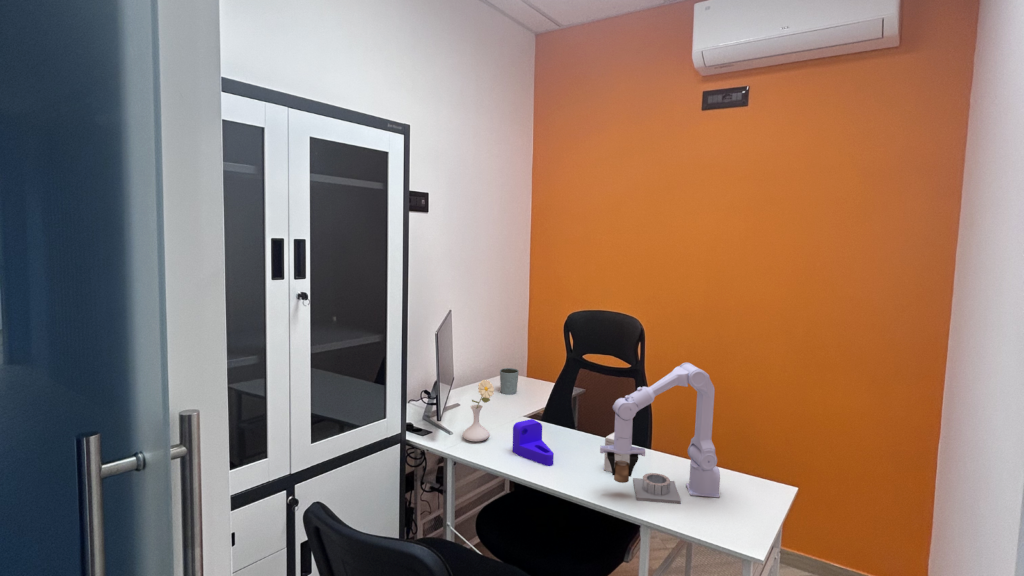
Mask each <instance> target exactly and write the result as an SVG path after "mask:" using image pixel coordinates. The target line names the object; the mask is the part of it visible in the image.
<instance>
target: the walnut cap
mask: <svg viewBox="0 0 1024 576" xmlns="http://www.w3.org/2000/svg"><path fill="white" fill-rule="evenodd" d="M614 471H615V475H613V481H615V482H617V483H622V484H624V483H625V484H626V483H628V482H629V480H630V479H629V478H630V477H629V463H628V462H626V461H616V462H615V467H614Z"/></svg>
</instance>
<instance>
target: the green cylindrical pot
mask: <svg viewBox="0 0 1024 576" xmlns="http://www.w3.org/2000/svg"><path fill="white" fill-rule="evenodd" d="M519 372H520V371H519V370H518V369H516V368H513V367H505V368H504V367H503V368H501V369H499V383H500V385H499V386H500V393H501V394H502V395H506V396H507V395H508V396H510V395H511V396H512V395H515V394H517V392H518V391H517V390H518V382H519V374H520V373H519Z"/></svg>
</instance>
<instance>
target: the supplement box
mask: <svg viewBox="0 0 1024 576" xmlns="http://www.w3.org/2000/svg"><path fill="white" fill-rule="evenodd" d="M606 445H614V432H612V433H610V434H609V435H607V436H606V437H605V440H604V446H606ZM614 454H615V462H616V461H626V462H628V463H629V461H630V454H616V453H614ZM603 460H604V466H603V470H604V471H607V472H609V473H612V469H611V465H610V462H609V460H608V458H607V453H604V459H603ZM614 467H615V463H614Z"/></svg>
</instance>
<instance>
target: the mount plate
mask: <svg viewBox="0 0 1024 576" xmlns="http://www.w3.org/2000/svg"><path fill="white" fill-rule="evenodd" d="M632 483H633V489H634V492H635V493H634V494H635V497H636V501H642V502H656V503H664V504H665V503H666V504H676V505H677V504H679V505H681V504H682V499H681V498H680V495H679V491H678V488H677V485H676V482H675V480H670V492H669V493H668V494H666V495H653V494H650V493H648V492H646V491H644V490H643V487H642V485H643V478H638V477H637V478H636V477H633V478H632Z"/></svg>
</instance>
